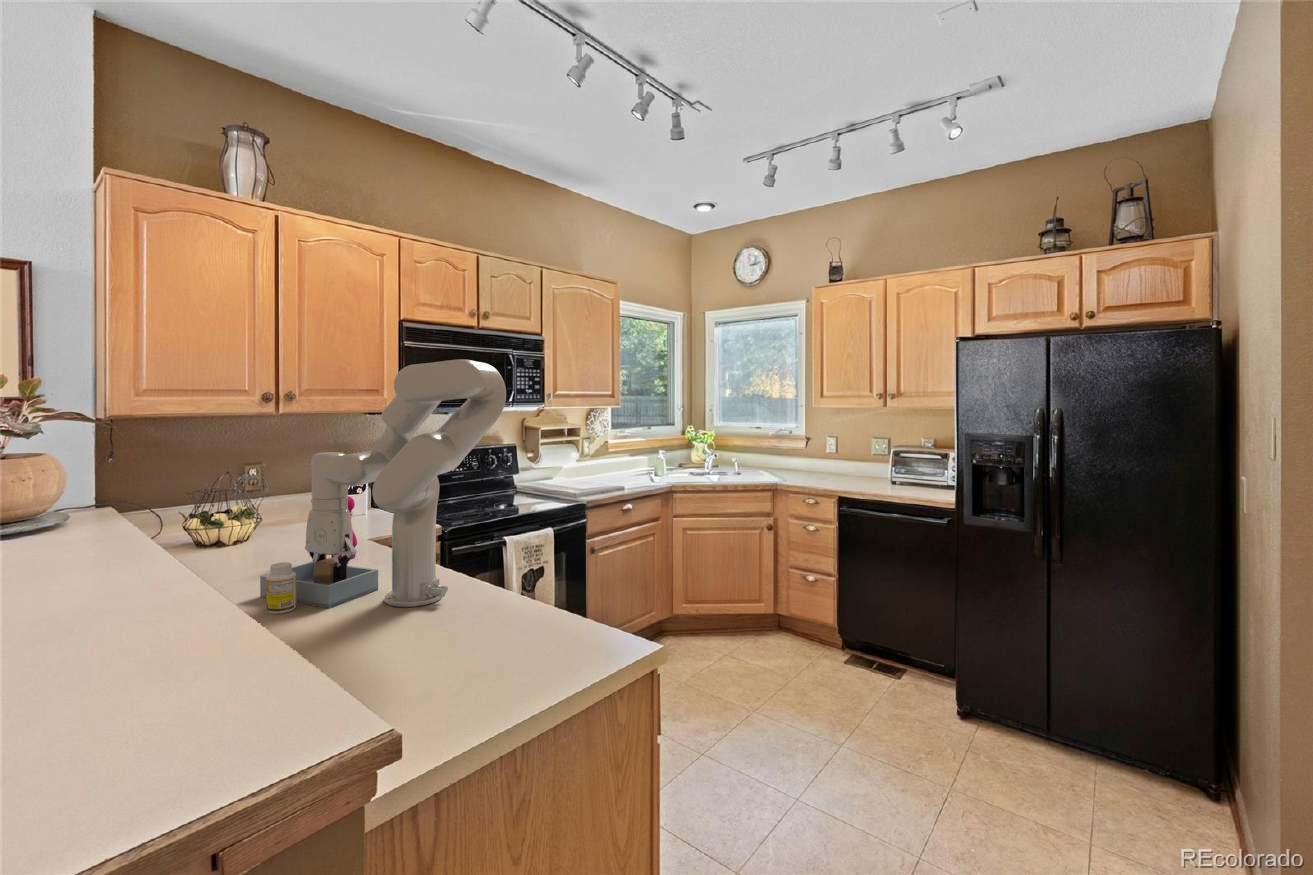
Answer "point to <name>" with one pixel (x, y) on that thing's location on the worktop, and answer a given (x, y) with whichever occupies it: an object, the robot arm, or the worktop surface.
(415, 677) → the worktop surface
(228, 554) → the worktop surface
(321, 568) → the walnut cube
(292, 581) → the supplement bottle
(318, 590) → the tote
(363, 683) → the worktop surface
